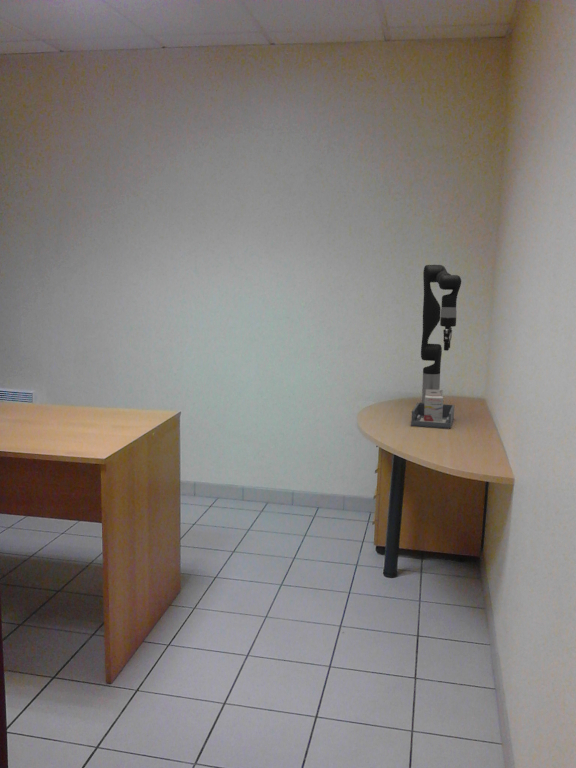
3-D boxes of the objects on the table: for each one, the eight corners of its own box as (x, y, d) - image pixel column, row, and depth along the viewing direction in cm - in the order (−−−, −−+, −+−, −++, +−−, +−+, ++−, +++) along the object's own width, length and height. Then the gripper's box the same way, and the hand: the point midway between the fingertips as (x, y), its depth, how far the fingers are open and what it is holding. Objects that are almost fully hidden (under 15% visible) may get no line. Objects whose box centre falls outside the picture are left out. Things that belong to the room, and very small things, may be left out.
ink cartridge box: (424, 421, 312) (425, 391, 310) (423, 418, 317) (424, 389, 314) (442, 421, 311) (443, 391, 308) (441, 419, 316) (442, 389, 313)
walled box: (417, 416, 327) (417, 402, 326) (453, 418, 321) (454, 405, 320) (411, 426, 306) (411, 411, 305) (450, 428, 301) (450, 414, 300)
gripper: (441, 315, 325) (440, 347, 328) (439, 317, 312) (437, 350, 314) (457, 315, 323) (455, 348, 325) (455, 317, 309) (453, 351, 312)
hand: (446, 349), depth 320 cm, fingers open, 8 cm apart
